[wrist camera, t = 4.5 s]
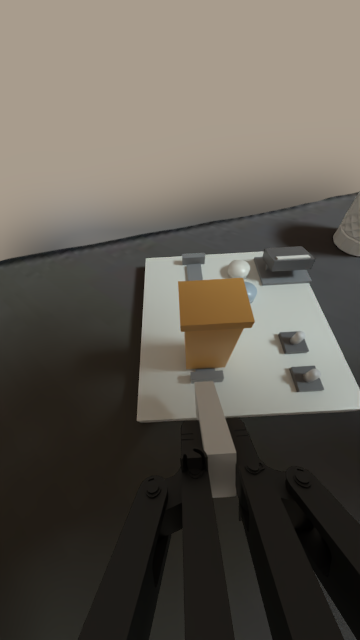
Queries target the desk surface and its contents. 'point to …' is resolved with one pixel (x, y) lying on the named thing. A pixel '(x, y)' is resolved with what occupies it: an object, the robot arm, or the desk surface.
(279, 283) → the console
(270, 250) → the rocker
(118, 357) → the desk surface
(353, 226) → the white cup
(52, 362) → the desk surface
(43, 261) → the desk surface
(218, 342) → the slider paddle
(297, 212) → the desk surface
